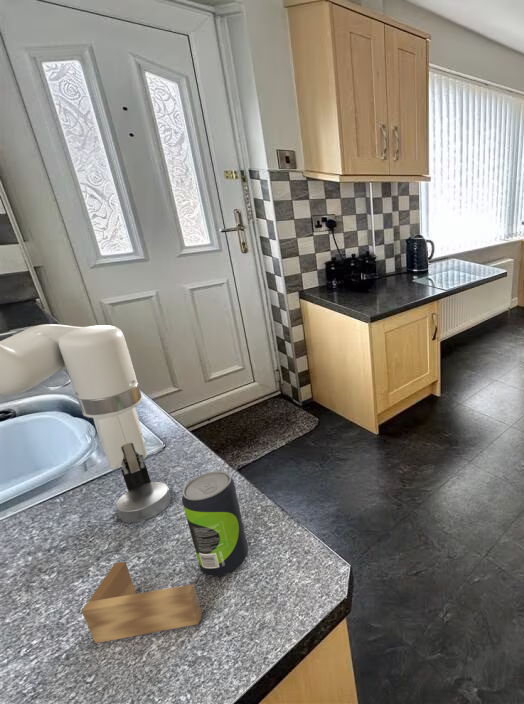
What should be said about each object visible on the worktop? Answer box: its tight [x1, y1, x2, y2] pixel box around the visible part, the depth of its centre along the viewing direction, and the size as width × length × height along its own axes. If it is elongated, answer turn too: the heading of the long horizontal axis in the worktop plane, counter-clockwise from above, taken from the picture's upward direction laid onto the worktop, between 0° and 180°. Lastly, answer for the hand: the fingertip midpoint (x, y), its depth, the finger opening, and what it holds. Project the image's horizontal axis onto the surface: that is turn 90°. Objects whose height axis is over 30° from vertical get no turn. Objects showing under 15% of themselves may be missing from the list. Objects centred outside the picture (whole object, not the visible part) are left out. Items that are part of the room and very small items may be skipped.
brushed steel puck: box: [115, 481, 172, 524], centre depth 74 cm, size 7×7×2 cm
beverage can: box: [181, 470, 249, 577], centre depth 63 cm, size 6×6×15 cm
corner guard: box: [81, 561, 203, 644], centre depth 57 cm, size 12×7×6 cm, turn 104°
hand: (139, 485), depth 77 cm, fingers closed
